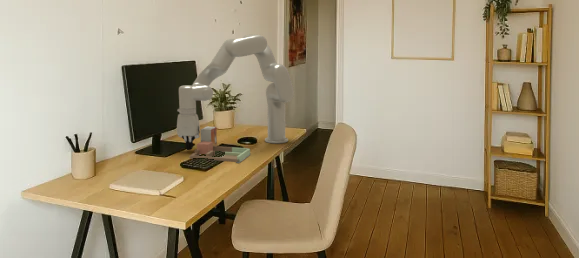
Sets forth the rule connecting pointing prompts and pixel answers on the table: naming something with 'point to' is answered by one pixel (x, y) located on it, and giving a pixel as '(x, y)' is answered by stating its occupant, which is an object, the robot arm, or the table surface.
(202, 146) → the block
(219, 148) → the tray
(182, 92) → the robot arm
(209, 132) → the small box
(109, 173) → the table surface
